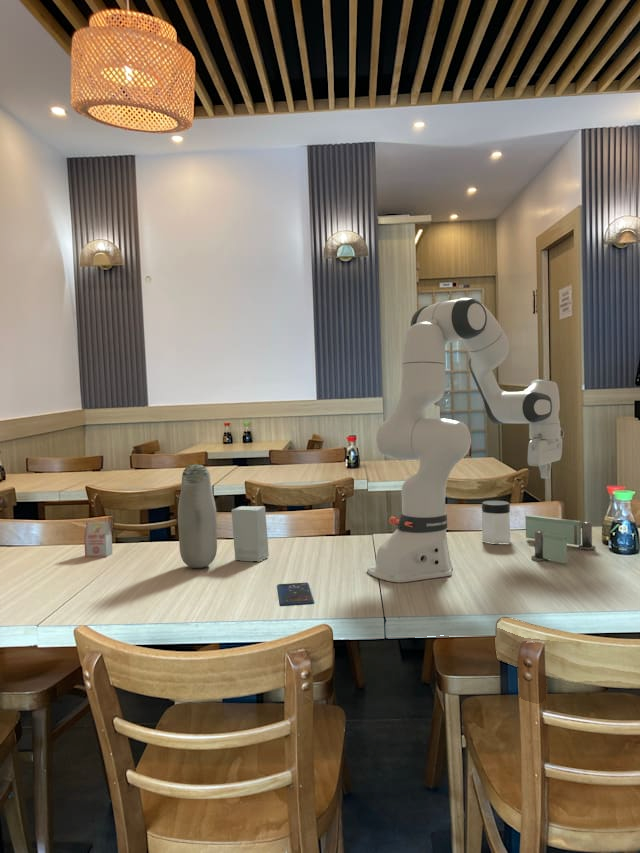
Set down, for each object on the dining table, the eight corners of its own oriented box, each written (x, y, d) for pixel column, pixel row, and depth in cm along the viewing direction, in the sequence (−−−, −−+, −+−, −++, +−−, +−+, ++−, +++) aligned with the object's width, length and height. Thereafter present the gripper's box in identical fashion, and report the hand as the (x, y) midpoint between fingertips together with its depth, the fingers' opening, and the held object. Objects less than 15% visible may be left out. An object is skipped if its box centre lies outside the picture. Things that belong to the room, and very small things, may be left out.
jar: (483, 538, 192) (483, 499, 192) (511, 539, 190) (510, 500, 189) (481, 544, 184) (480, 504, 183) (509, 546, 181) (508, 505, 181)
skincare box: (269, 557, 176) (267, 506, 175) (258, 563, 170) (257, 509, 169) (243, 555, 179) (241, 504, 178) (232, 560, 173) (230, 508, 173)
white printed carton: (91, 553, 186) (90, 521, 186) (112, 554, 185) (111, 521, 185) (85, 557, 183) (83, 523, 182) (106, 557, 182) (105, 523, 181)
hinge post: (589, 551, 173) (588, 524, 173) (575, 548, 177) (575, 522, 176) (598, 548, 175) (598, 522, 175) (585, 545, 179) (584, 520, 179)
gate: (525, 537, 188) (525, 515, 188) (528, 536, 189) (528, 514, 189) (578, 545, 177) (578, 522, 176) (581, 544, 178) (580, 521, 178)
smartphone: (279, 604, 134) (277, 583, 149) (280, 607, 134) (277, 587, 149) (314, 601, 135) (308, 582, 150) (314, 605, 135) (308, 585, 150)
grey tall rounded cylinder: (175, 565, 170) (172, 464, 168) (211, 560, 174) (208, 461, 173) (185, 574, 161) (181, 467, 160) (223, 568, 166) (219, 464, 164)
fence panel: (563, 563, 158) (562, 537, 158) (542, 558, 164) (542, 533, 164) (567, 562, 159) (566, 536, 159) (546, 557, 165) (546, 532, 165)
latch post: (542, 562, 162) (541, 534, 162) (527, 559, 166) (527, 531, 166) (555, 559, 165) (555, 531, 165) (541, 555, 169) (541, 528, 169)
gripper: (543, 435, 178) (543, 482, 179) (565, 431, 194) (566, 474, 194) (521, 434, 182) (522, 481, 182) (545, 430, 198) (546, 473, 198)
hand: (545, 477), depth 189 cm, fingers closed
